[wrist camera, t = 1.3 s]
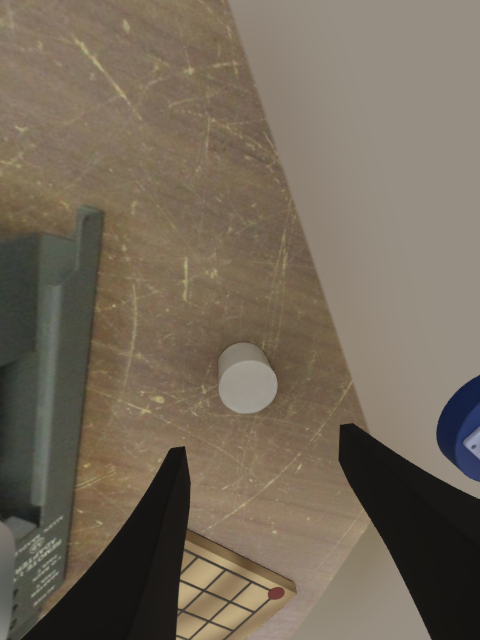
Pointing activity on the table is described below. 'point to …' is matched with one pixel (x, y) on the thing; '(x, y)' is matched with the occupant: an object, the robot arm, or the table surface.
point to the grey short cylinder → (246, 378)
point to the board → (225, 593)
